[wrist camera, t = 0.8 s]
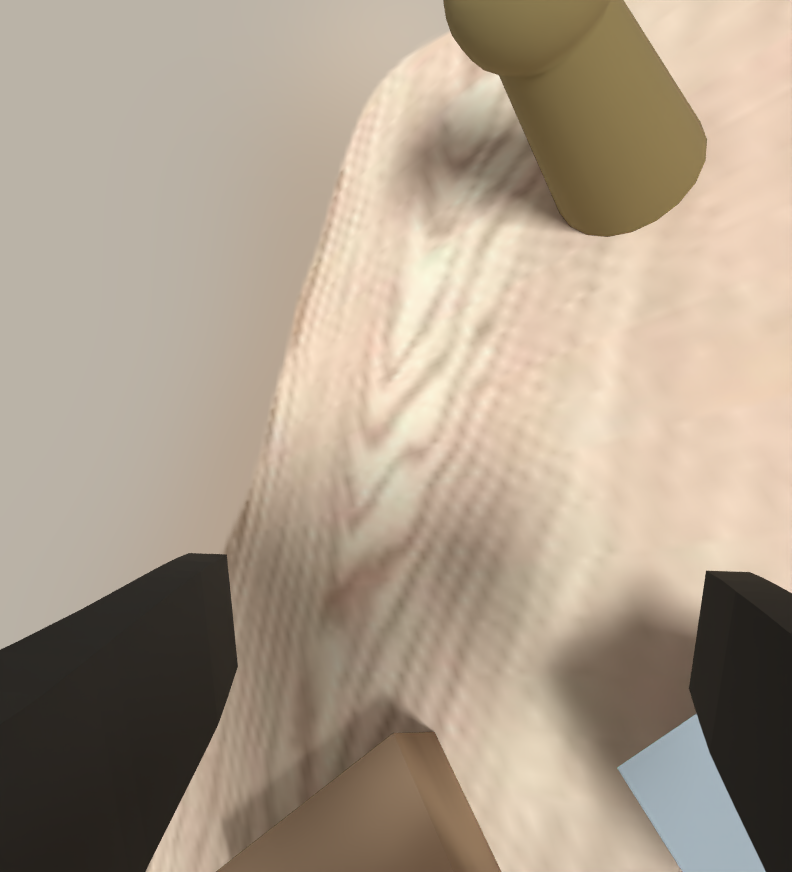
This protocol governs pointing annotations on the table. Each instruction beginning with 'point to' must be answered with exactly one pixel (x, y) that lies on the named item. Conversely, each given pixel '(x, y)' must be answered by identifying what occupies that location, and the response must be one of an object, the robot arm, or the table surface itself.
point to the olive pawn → (589, 105)
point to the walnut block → (379, 819)
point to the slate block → (690, 803)
